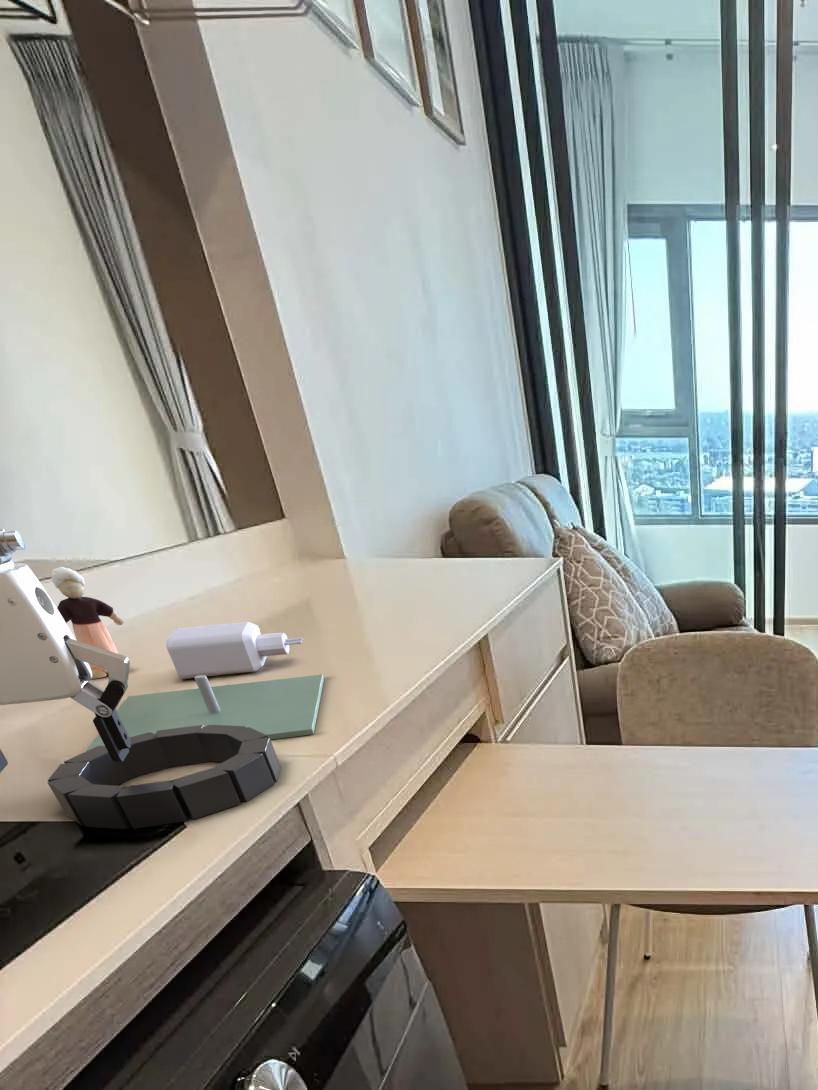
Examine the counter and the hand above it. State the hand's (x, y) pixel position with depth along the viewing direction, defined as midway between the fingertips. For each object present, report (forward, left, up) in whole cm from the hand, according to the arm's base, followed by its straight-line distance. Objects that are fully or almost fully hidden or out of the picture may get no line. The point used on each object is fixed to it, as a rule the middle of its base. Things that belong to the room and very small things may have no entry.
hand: (61, 763), depth 77 cm
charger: (+10, +44, -4) cm, 45 cm away
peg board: (+9, +22, -4) cm, 24 cm away
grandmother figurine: (-7, +48, -4) cm, 48 cm away
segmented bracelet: (+8, 0, -4) cm, 9 cm away
